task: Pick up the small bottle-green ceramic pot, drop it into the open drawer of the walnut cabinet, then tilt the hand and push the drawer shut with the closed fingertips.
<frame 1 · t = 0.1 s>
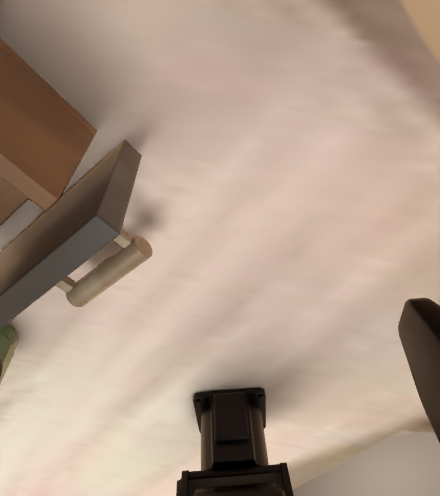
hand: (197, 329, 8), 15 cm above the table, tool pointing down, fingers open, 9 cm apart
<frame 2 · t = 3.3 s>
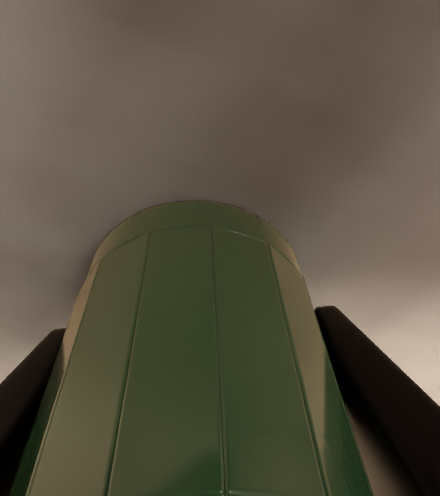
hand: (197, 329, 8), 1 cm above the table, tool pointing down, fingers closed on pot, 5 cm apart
pot: (196, 288, 10), on the table, touching gripper
when the fingers open (6 cm above the table, at t = 18.6 s): pot drops 3 cm, resting on drawer.
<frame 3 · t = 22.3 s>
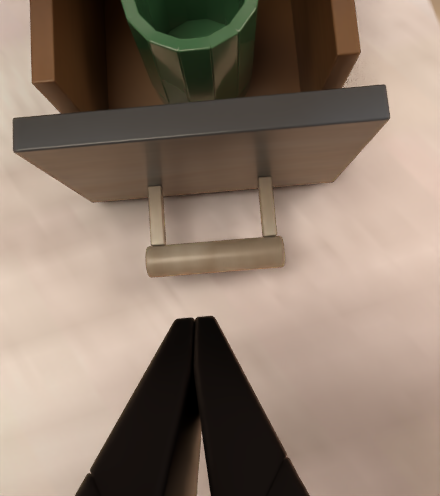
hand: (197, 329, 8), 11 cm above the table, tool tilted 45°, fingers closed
drawer: (199, 75, 17), point 4 cm above the table, slide at 7.3 cm, touching pot
pot: (202, 71, 19), point 2 cm above the table, touching drawer
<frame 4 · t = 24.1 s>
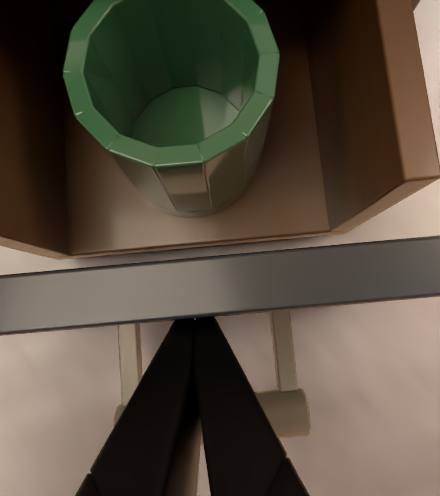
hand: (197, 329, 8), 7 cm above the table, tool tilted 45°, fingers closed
drawer: (188, 174, 12), point 4 cm above the table, slide at 6.5 cm, touching pot
pot: (192, 152, 15), point 2 cm above the table, touching drawer
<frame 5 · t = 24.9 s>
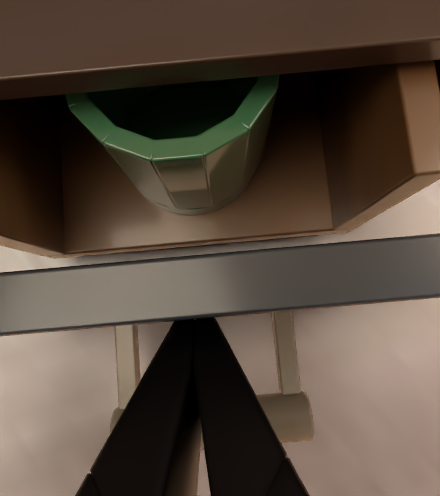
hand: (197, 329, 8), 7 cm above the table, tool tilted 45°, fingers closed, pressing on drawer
drawer: (187, 170, 11), point 4 cm above the table, slide at 3.4 cm, touching gripper, pot
pot: (191, 147, 14), point 2 cm above the table, touching drawer
cabinet: (185, 45, 17), on the table
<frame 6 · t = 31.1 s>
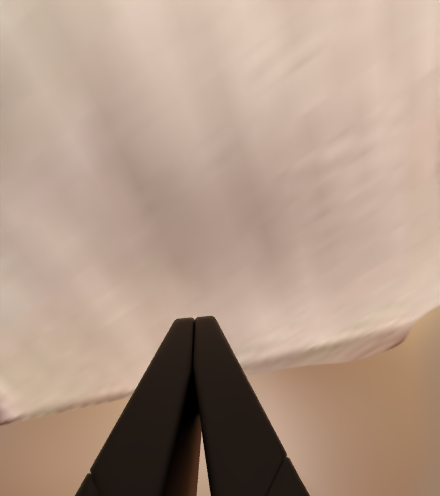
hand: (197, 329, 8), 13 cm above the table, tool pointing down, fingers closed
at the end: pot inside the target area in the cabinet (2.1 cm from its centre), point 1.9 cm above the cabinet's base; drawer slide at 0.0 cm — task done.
